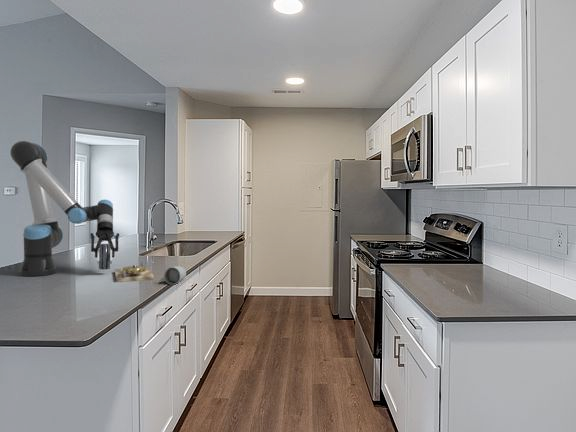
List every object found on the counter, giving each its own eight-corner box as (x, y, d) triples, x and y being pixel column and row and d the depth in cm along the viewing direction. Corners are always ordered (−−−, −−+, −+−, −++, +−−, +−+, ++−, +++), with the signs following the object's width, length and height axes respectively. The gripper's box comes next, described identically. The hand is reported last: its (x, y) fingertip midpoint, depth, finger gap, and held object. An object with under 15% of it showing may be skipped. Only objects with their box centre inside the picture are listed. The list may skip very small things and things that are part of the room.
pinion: (98, 269, 205) (99, 244, 204) (98, 268, 209) (99, 243, 209) (109, 269, 207) (110, 244, 206) (109, 267, 211) (110, 243, 211)
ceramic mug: (187, 281, 195) (187, 264, 194) (180, 285, 187) (180, 267, 186) (165, 280, 196) (165, 264, 196) (157, 284, 188) (157, 267, 188)
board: (116, 282, 191) (116, 272, 190) (114, 272, 213) (114, 263, 213) (154, 279, 197) (154, 269, 197) (148, 270, 220) (148, 261, 220)
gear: (123, 278, 192) (123, 267, 192) (122, 274, 202) (122, 264, 201) (147, 276, 196) (147, 266, 196) (145, 272, 206) (145, 263, 206)
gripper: (123, 230, 225) (124, 266, 211) (85, 229, 218) (83, 267, 203) (124, 220, 220) (125, 257, 206) (85, 220, 213) (83, 257, 198)
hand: (104, 262), depth 205 cm, fingers closed on pinion, 5 cm apart
